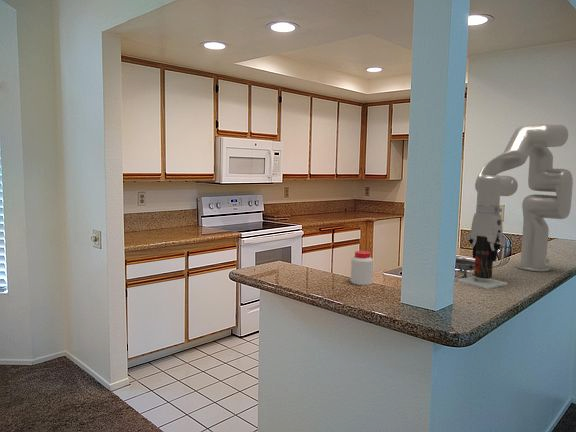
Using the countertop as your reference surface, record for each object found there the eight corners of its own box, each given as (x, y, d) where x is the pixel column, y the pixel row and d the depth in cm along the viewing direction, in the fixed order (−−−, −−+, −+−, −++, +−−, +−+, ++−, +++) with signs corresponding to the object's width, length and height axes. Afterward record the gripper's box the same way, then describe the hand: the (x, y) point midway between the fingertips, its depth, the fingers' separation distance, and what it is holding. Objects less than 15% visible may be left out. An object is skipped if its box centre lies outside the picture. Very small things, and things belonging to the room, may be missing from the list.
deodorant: (493, 279, 158) (496, 237, 156) (475, 278, 159) (478, 237, 157) (489, 275, 164) (492, 235, 162) (472, 274, 165) (475, 234, 163)
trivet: (477, 277, 170) (478, 275, 170) (507, 284, 160) (507, 282, 160) (457, 281, 163) (458, 279, 163) (487, 289, 153) (487, 286, 153)
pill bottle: (359, 278, 165) (360, 249, 164) (376, 282, 160) (377, 252, 158) (346, 281, 160) (347, 252, 158) (363, 286, 154) (365, 255, 153)
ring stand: (459, 270, 182) (460, 258, 181) (483, 276, 173) (484, 263, 172) (442, 273, 176) (443, 260, 175) (466, 279, 167) (466, 266, 166)
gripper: (516, 212, 153) (512, 263, 155) (472, 207, 168) (469, 254, 170) (503, 213, 149) (500, 265, 151) (460, 208, 164) (457, 256, 166)
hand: (484, 259), depth 161 cm, fingers closed on deodorant, 6 cm apart
